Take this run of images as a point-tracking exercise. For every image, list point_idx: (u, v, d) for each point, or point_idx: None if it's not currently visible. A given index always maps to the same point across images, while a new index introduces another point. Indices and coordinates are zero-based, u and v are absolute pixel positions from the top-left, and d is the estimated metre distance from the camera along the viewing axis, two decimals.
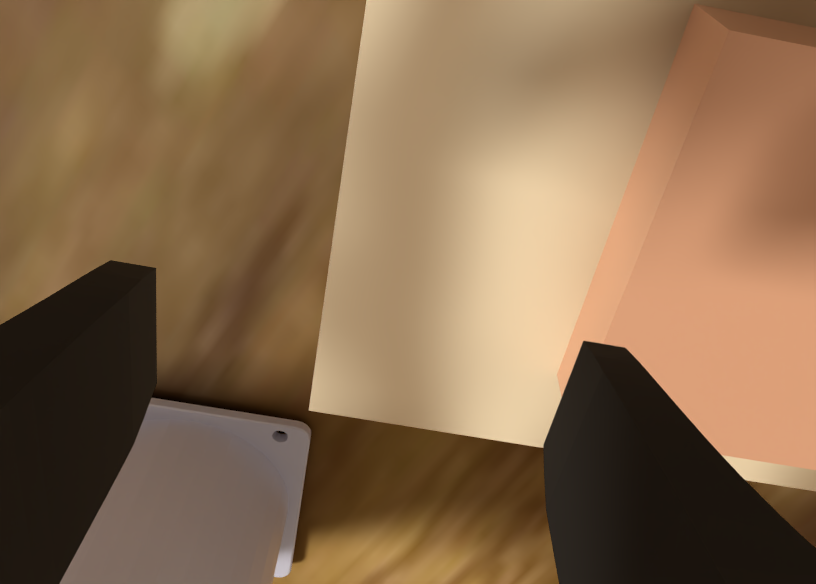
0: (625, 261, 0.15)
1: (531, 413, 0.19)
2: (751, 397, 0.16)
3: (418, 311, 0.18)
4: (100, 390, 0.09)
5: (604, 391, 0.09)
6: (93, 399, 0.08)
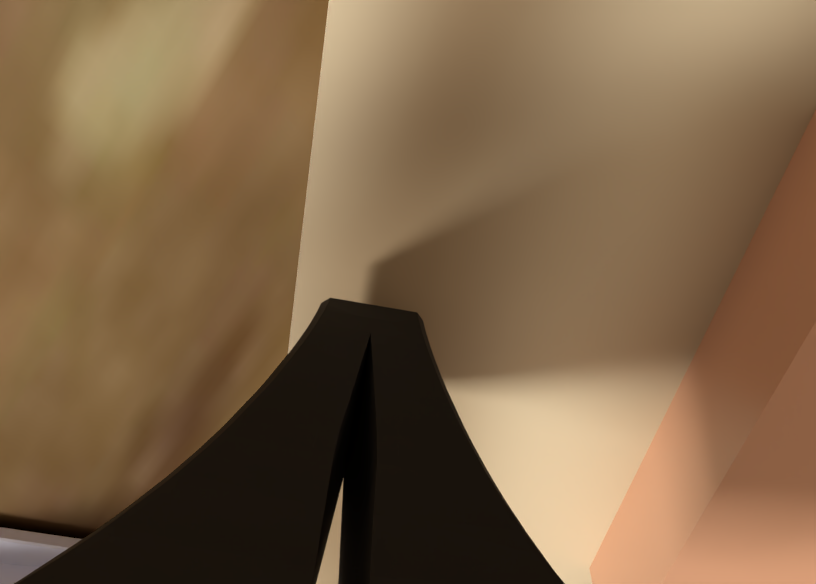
0: (701, 469, 0.10)
1: None
2: None
3: None
4: (348, 429, 0.09)
5: (369, 352, 0.09)
6: (345, 439, 0.09)
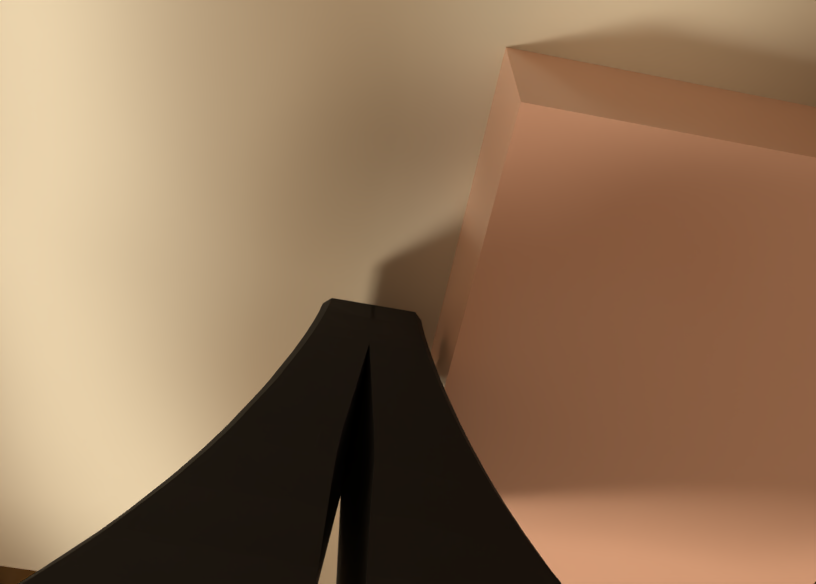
0: None
1: None
2: None
3: None
4: (350, 430, 0.09)
5: (367, 352, 0.09)
6: (348, 439, 0.09)
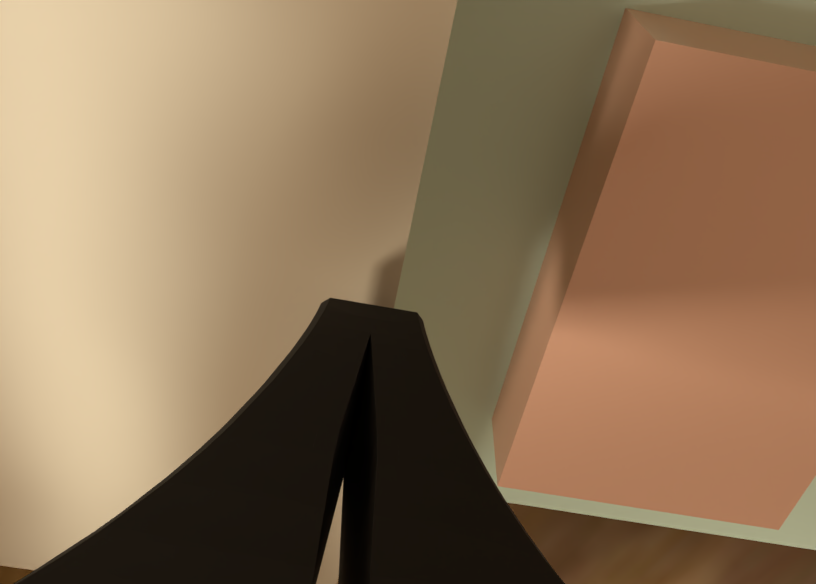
0: None
1: None
2: None
3: None
4: (348, 429, 0.09)
5: (369, 352, 0.09)
6: (346, 439, 0.09)
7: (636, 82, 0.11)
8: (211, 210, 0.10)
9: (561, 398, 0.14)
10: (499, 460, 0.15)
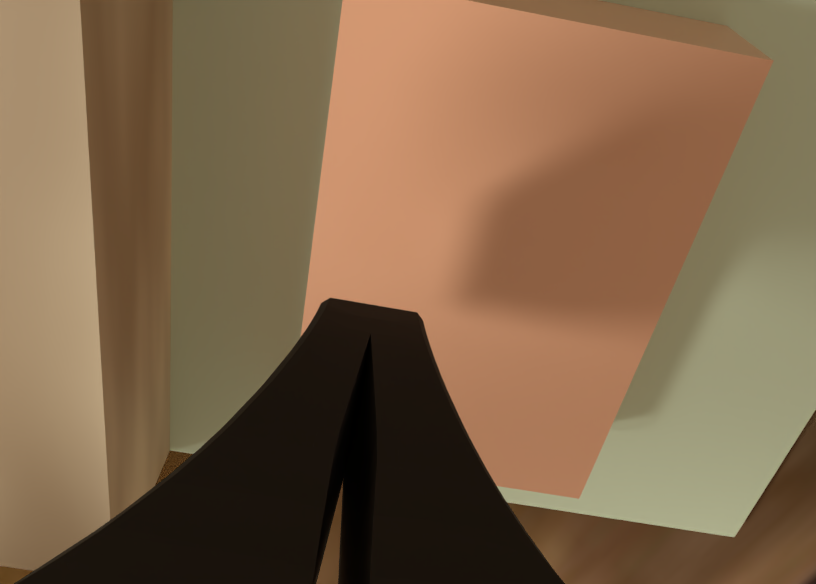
0: None
1: None
2: None
3: None
4: (348, 429, 0.09)
5: (369, 352, 0.09)
6: (345, 439, 0.09)
7: None
8: None
9: None
10: None
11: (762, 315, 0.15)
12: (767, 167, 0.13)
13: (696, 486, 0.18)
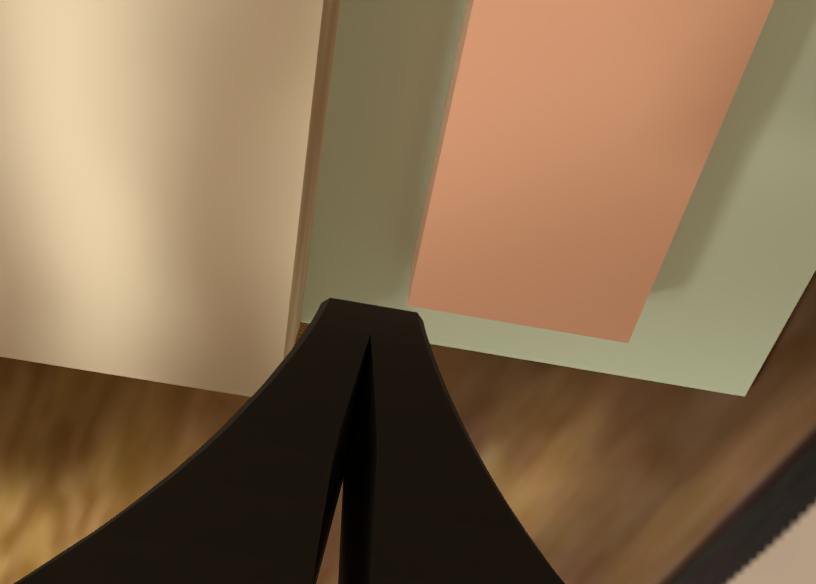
0: None
1: None
2: None
3: None
4: (348, 429, 0.09)
5: (369, 352, 0.09)
6: (345, 439, 0.09)
7: None
8: (177, 53, 0.15)
9: (449, 226, 0.18)
10: (410, 287, 0.20)
11: (767, 203, 0.20)
12: (772, 83, 0.18)
13: (715, 350, 0.22)
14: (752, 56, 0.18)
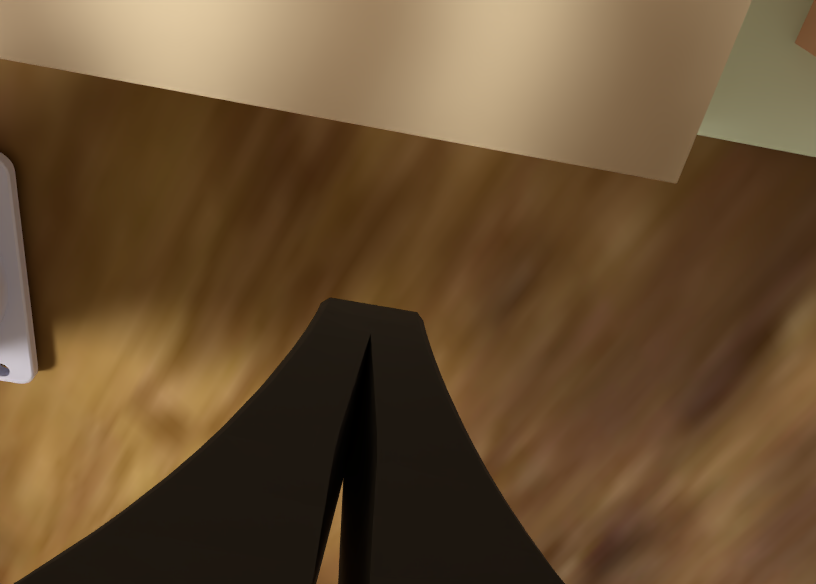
0: None
1: (190, 37, 0.15)
2: None
3: None
4: (348, 429, 0.09)
5: (369, 352, 0.09)
6: (345, 439, 0.09)
7: None
8: None
9: None
10: None
11: None
12: None
13: None
14: None
